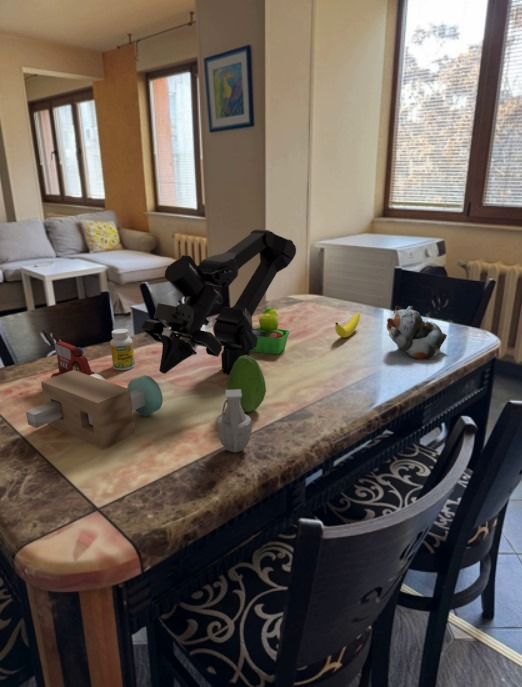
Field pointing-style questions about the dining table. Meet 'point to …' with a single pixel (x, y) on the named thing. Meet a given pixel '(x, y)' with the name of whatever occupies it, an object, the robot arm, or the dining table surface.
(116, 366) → the supplement bottle
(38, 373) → the dining table surface
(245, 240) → the robot arm
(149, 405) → the teal knob
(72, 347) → the toy fire truck
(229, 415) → the hand grenade
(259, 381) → the avocado
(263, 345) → the fruit basket
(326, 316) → the dining table surface
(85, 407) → the walnut mount
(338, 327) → the banana
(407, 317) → the lucky cat figurine
